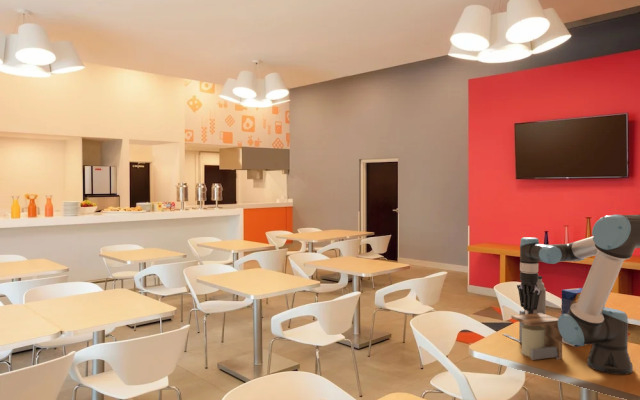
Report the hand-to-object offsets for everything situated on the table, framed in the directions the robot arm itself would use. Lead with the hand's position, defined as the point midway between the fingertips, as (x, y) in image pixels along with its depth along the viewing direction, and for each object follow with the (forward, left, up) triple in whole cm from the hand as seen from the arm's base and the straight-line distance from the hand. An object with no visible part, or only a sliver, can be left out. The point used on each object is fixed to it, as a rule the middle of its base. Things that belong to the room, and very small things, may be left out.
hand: (528, 324), depth 209 cm
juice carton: (-4, -24, -10) cm, 26 cm away
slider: (-6, +6, -9) cm, 12 cm away
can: (-10, +6, -10) cm, 15 cm away
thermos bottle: (+13, -16, -10) cm, 23 cm away
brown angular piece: (-1, +5, -10) cm, 11 cm away
